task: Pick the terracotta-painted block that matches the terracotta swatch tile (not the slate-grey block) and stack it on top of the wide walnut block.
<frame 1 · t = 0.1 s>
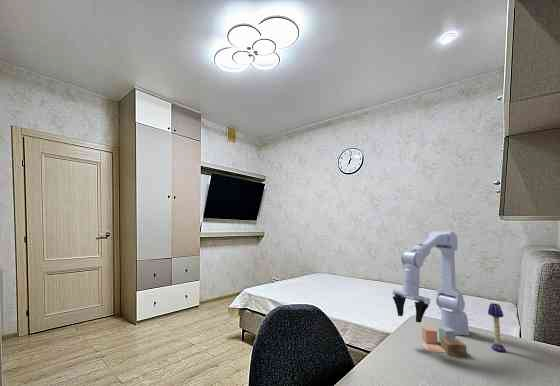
hand: (409, 318, 102), 10 cm above the table, tool pointing down, fingers open, 7 cm apart
terracotta block: (429, 341, 107), on the table
toy lamp: (498, 350, 100), on the table
walnut base block: (453, 352, 98), on the table
slate grey block: (447, 342, 107), on the table
terracotta swatch tile: (433, 348, 101), on the table
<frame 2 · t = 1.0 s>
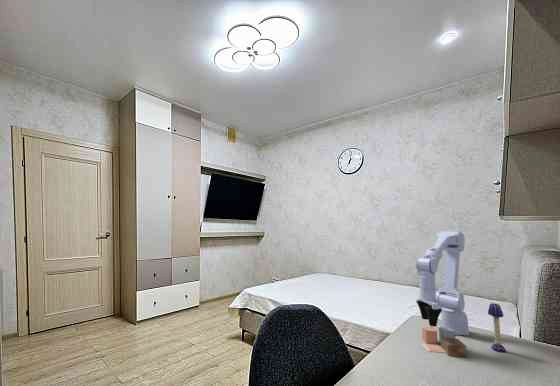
hand: (428, 322, 107), 7 cm above the table, tool pointing down, fingers open, 7 cm apart
nothing on the table moved.
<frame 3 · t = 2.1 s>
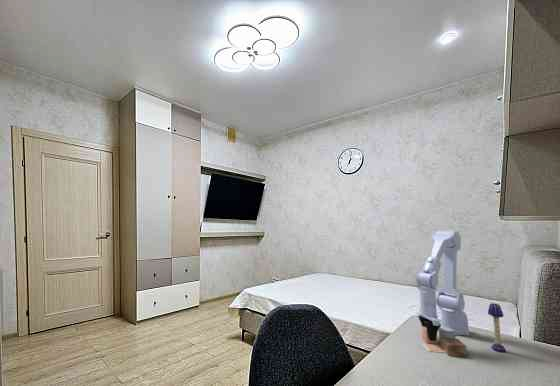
hand: (429, 337, 107), 1 cm above the table, tool pointing down, fingers closed on terracotta block, 4 cm apart
terracotta block: (429, 341, 107), on the table, touching gripper
everything else where it was.
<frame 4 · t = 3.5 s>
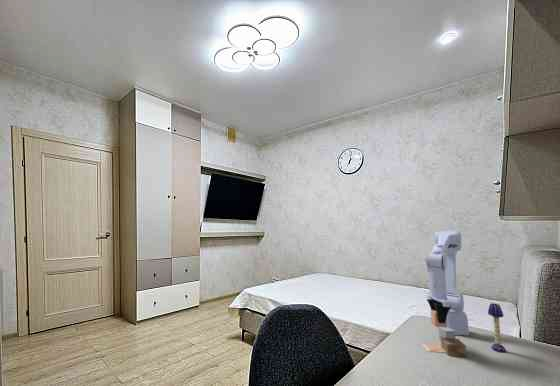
hand: (439, 320, 104), 9 cm above the table, tool pointing down, fingers closed on terracotta block, 4 cm apart
terracotta block: (439, 325, 103), point 8 cm above the table, touching gripper
everything else where it was.
when the fingers open (7 cm above the table, at t = 4.7 s): terracotta block drops 1 cm, resting on walnut base block.
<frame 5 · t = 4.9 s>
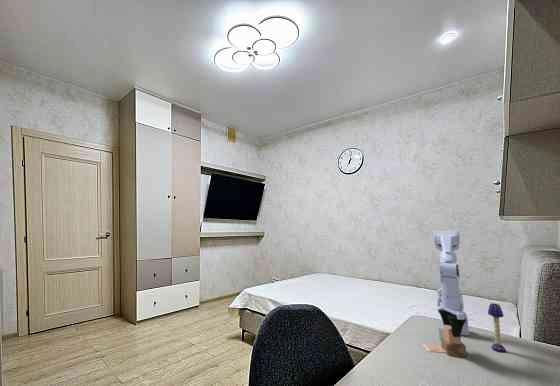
hand: (452, 333, 99), 7 cm above the table, tool pointing down, fingers open, 5 cm apart
terracotta block: (452, 341, 99), point 4 cm above the table, touching walnut base block
walnut base block: (453, 352, 98), on the table, touching terracotta block
everything else where it was.
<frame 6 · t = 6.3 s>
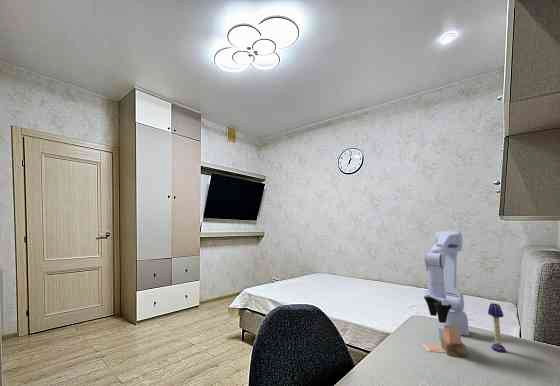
hand: (437, 318, 105), 10 cm above the table, tool pointing down, fingers open, 7 cm apart
terracotta block: (452, 341, 99), point 4 cm above the table
walnut base block: (453, 352, 98), on the table
everything else where it was.
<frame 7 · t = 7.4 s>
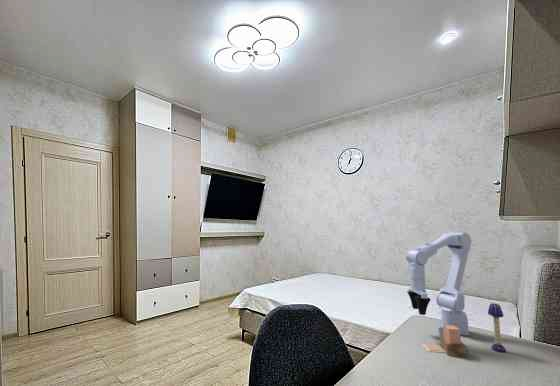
hand: (418, 311, 113), 10 cm above the table, tool pointing down, fingers open, 7 cm apart
nothing on the table moved.
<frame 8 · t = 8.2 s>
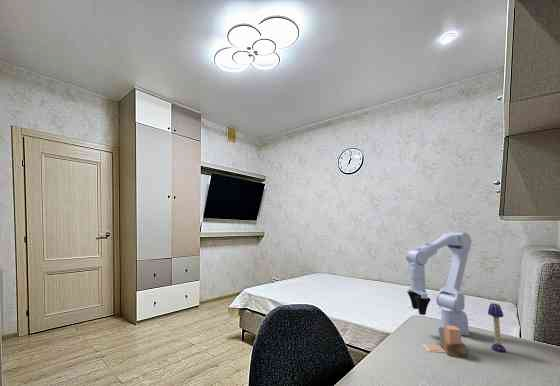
hand: (418, 311, 113), 10 cm above the table, tool pointing down, fingers open, 7 cm apart
terracotta block: (452, 341, 98), point 4 cm above the table, touching walnut base block
walnut base block: (453, 353, 98), on the table, touching terracotta block
everything else where it was.
at the end: terracotta block 0.2 cm off-centre on the walnut base block, point 4.0 cm above the walnut base block's base; terracotta block tilted 0°; slate grey block moved 0.1 cm from its start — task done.
